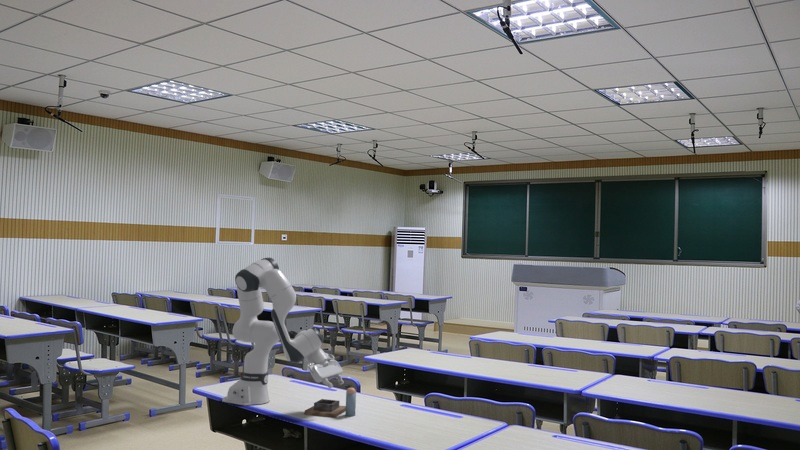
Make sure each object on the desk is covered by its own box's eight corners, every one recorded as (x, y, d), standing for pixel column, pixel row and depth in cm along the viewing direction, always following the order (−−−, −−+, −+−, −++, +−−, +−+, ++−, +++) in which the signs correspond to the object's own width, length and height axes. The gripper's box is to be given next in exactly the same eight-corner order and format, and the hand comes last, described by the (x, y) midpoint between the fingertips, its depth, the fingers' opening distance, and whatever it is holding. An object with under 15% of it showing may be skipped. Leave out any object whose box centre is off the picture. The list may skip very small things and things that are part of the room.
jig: (304, 414, 277) (304, 403, 277) (318, 406, 292) (318, 396, 292) (335, 417, 273) (335, 407, 273) (347, 409, 287) (348, 399, 288)
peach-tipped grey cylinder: (343, 415, 276) (345, 388, 277) (347, 413, 281) (348, 386, 281) (353, 416, 275) (354, 389, 276) (356, 414, 279) (357, 387, 280)
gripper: (311, 360, 275) (329, 384, 270) (334, 354, 293) (352, 377, 289) (302, 369, 276) (320, 394, 272) (326, 363, 295) (343, 386, 290)
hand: (337, 385), depth 280 cm, fingers open, 8 cm apart
